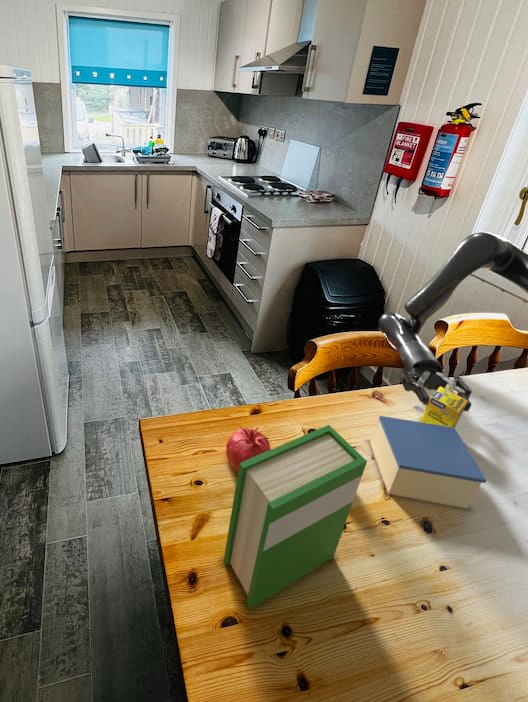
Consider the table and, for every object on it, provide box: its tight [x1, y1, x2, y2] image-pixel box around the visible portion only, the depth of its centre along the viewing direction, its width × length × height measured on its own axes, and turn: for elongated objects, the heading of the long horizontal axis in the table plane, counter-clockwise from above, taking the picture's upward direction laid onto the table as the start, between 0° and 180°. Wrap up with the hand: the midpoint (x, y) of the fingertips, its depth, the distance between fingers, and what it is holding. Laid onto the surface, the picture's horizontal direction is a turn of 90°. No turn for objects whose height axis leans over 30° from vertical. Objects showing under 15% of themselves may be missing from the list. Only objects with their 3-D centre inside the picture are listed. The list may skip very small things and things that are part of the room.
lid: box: [378, 415, 487, 484], centre depth 80 cm, size 15×13×1 cm
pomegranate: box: [225, 426, 272, 473], centre depth 83 cm, size 10×10×9 cm
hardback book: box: [223, 424, 368, 610], centre depth 63 cm, size 18×7×24 cm, turn 116°
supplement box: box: [419, 387, 468, 429], centre depth 92 cm, size 6×6×11 cm
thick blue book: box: [370, 418, 482, 510], centre depth 82 cm, size 15×13×8 cm
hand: (447, 405), depth 90 cm, fingers closed on supplement box, 8 cm apart
